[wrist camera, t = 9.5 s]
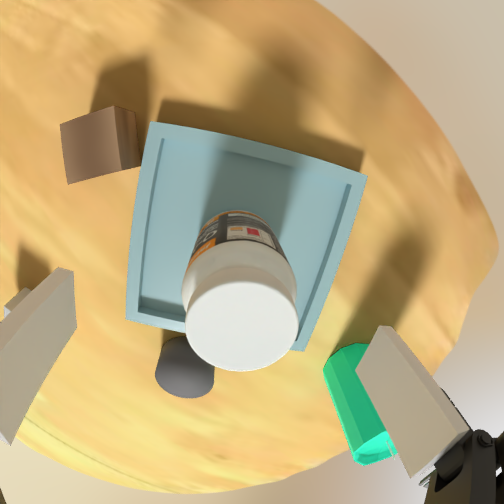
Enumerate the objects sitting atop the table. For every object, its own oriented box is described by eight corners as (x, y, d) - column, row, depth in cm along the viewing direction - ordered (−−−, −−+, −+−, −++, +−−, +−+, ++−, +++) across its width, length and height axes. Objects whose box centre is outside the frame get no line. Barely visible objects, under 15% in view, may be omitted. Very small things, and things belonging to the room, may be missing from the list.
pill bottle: (200, 203, 19) (172, 256, 10) (283, 214, 20) (327, 274, 11) (193, 279, 21) (170, 372, 12) (269, 287, 22) (294, 382, 12)
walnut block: (94, 177, 18) (67, 184, 15) (87, 126, 17) (60, 124, 13) (142, 165, 19) (121, 170, 15) (135, 112, 17) (113, 105, 13)
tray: (130, 309, 22) (125, 319, 21) (156, 123, 18) (150, 121, 16) (300, 341, 25) (304, 351, 23) (359, 173, 20) (367, 175, 18)
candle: (352, 389, 28) (389, 475, 17) (310, 378, 26) (342, 479, 15) (387, 351, 26) (440, 436, 15) (347, 335, 25) (401, 436, 14)
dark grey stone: (160, 370, 25) (154, 391, 22) (163, 330, 23) (156, 352, 21) (210, 379, 26) (209, 402, 23) (219, 341, 24) (218, 364, 21)
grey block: (24, 315, 22) (5, 336, 18) (26, 286, 21) (4, 306, 17) (52, 334, 23) (35, 357, 19) (56, 305, 22) (35, 328, 18)
